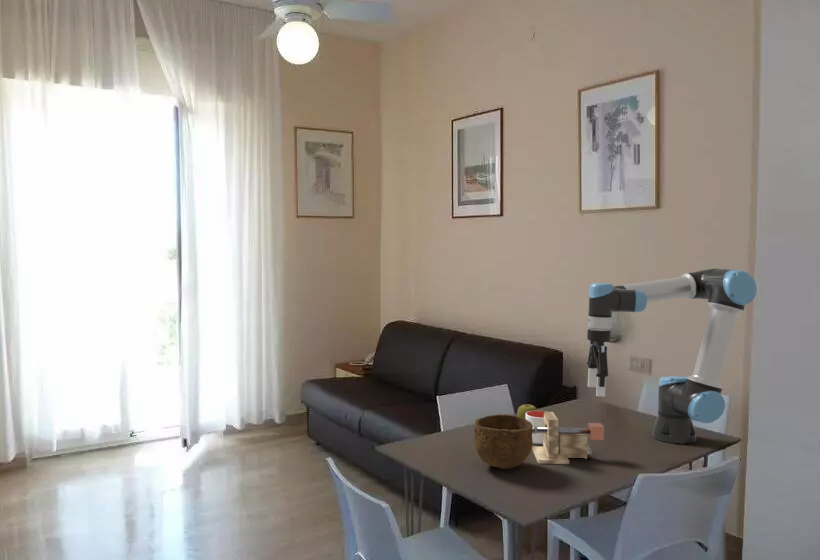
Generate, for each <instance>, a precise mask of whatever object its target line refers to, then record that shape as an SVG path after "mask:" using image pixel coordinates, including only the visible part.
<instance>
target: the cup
mask: <svg viewBox="0 0 820 560" xmlns="http://www.w3.org/2000/svg"><path fill="white" fill-rule="evenodd" d="M544 412H547V411H545V410H537V411H529V412H526V418H525V419H526V420H528V421H530V422H531V423H532V426H533V427H544ZM543 436H544V433H536V434H534V433H533V434H532V441H533V443H532V445H533V444H535V445H543Z"/></svg>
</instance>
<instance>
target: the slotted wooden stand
mask: <svg viewBox="0 0 820 560" xmlns="http://www.w3.org/2000/svg"><path fill="white" fill-rule="evenodd" d="M544 427H547V433H544V436H543V444H542V445H541V446H540V445H539V446H537V445H536V446H535V445H534V446H533V445H532V450H531V452H533V455H534V456H535V459H536V461H537V463H538V464H540V465H541V464H549V465H553V464H554V465H570V459H568V458H585V459H584V460H588V442H589V441H588V438H589V437H588V436H587V434H558V428H559V419H558V417H557V416H556V415H555V413H554V412H553V411H546V412H544Z"/></svg>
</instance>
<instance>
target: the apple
mask: <svg viewBox="0 0 820 560" xmlns="http://www.w3.org/2000/svg"><path fill="white" fill-rule="evenodd" d="M516 411H517V412H516V413H517V414H516V416H517V417H521V418H524V419H525V418H526V412H529V411H538V408H537V407H536V406H535V405H532V404H521V405H520V406H519V407H518V408H517V410H516Z"/></svg>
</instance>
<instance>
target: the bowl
mask: <svg viewBox="0 0 820 560" xmlns="http://www.w3.org/2000/svg"><path fill="white" fill-rule="evenodd" d="M473 428H474V430H473V431H474V437H473V443H474V448H475V451H476V453H477V455H478V456H479V458H480V459H481V461H483V462H484V463H485V464H486V465H488V466H491V467H494V468H499V469H502V470H503V469H504V470H507V469H508V470H509V469H512V468H516V467H518V466H520V465H521V464H522V463H524V461H526V460H527V458H528V456H529V455H530V454H531V452H532V446H533V441H532V434H533V429H532V428H533V426H532V423H531V422H530V421H528V420H526V419H524V418H521V417H518V415H512V414H507V413H506V414H504V413H503V414H499V413H498V414H491V415H487V416H483V417H479V418H476V420H475V421H474V427H473Z"/></svg>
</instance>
